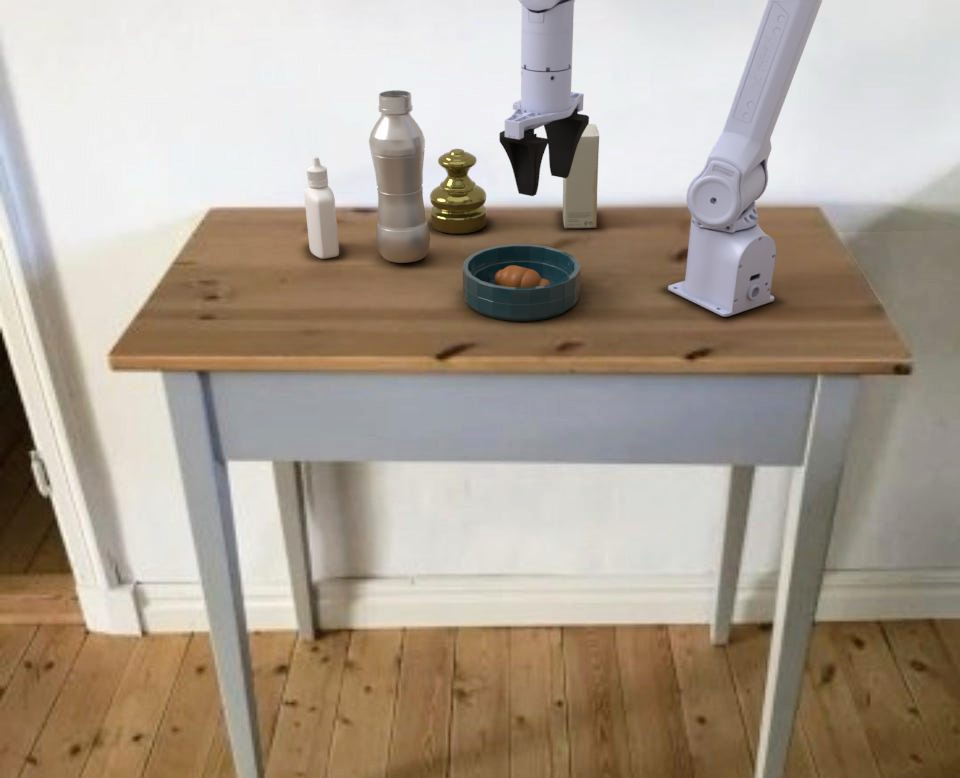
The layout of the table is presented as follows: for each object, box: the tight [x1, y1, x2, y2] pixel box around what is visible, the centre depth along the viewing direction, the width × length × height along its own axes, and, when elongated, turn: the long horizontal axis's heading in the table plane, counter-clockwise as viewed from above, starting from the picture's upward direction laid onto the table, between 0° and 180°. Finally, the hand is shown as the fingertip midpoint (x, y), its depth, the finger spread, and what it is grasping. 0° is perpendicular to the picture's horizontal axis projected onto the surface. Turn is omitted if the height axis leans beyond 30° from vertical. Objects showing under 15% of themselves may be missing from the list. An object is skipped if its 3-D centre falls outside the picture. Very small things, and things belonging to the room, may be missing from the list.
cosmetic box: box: [562, 123, 600, 229], centre depth 140 cm, size 6×4×12 cm
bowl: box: [462, 243, 581, 322], centre depth 122 cm, size 13×13×4 cm
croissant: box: [494, 265, 551, 287], centre depth 122 cm, size 4×8×3 cm, turn 57°
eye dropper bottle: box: [303, 156, 340, 260], centre depth 132 cm, size 4×6×12 cm
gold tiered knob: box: [429, 148, 487, 235], centre depth 140 cm, size 7×7×10 cm
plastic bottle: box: [368, 89, 431, 264], centre depth 128 cm, size 6×7×20 cm
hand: (543, 185), depth 127 cm, fingers open, 7 cm apart
